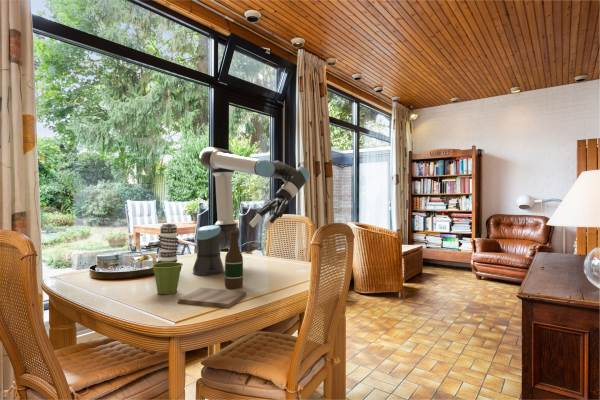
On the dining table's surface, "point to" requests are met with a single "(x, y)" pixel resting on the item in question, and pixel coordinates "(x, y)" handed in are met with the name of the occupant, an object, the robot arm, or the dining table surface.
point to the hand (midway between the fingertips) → (257, 226)
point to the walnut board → (212, 297)
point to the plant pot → (167, 276)
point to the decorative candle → (168, 243)
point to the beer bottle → (233, 264)
